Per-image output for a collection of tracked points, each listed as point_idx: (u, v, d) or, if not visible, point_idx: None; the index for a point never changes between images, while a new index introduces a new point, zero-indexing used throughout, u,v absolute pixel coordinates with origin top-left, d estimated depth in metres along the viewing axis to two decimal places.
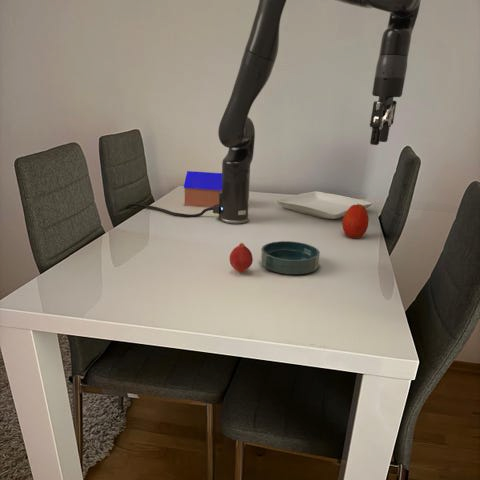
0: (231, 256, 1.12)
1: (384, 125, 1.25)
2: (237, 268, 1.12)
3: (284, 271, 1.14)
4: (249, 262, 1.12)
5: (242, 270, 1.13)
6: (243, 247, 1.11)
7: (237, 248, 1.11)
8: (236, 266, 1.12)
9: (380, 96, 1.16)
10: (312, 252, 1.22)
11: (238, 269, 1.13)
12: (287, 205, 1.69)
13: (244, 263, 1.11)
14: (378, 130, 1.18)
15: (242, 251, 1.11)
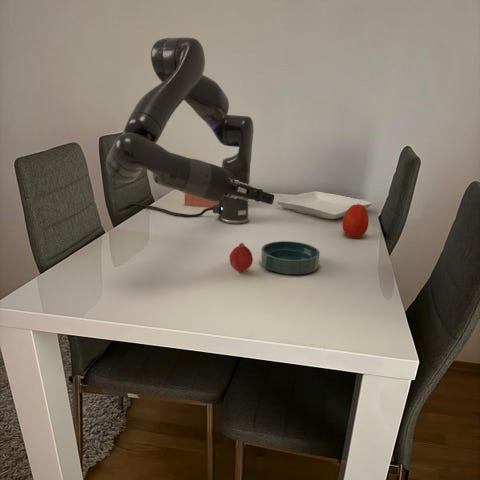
0: (231, 256, 1.12)
1: None
2: (237, 268, 1.12)
3: (284, 271, 1.14)
4: (249, 262, 1.12)
5: (242, 270, 1.13)
6: (243, 247, 1.11)
7: (237, 248, 1.11)
8: (236, 266, 1.12)
9: None
10: (312, 252, 1.22)
11: (238, 269, 1.13)
12: (287, 205, 1.69)
13: (244, 263, 1.11)
14: None
15: (242, 251, 1.11)
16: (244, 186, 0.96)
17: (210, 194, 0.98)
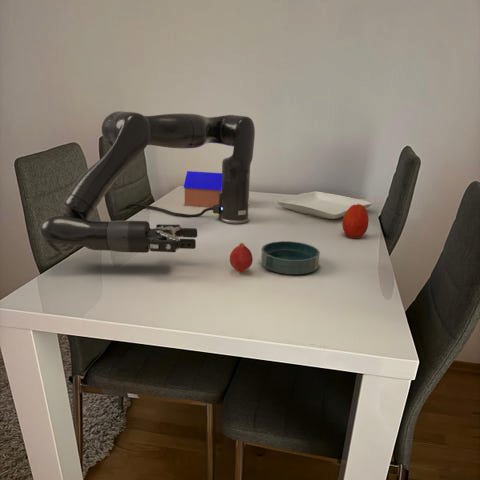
0: (231, 256, 1.12)
1: None
2: (237, 268, 1.12)
3: (284, 271, 1.14)
4: (249, 262, 1.12)
5: (242, 270, 1.13)
6: (243, 247, 1.11)
7: (237, 248, 1.11)
8: (236, 266, 1.12)
9: None
10: (312, 252, 1.22)
11: (238, 269, 1.13)
12: (287, 205, 1.69)
13: (244, 263, 1.11)
14: None
15: (242, 251, 1.11)
16: (154, 242, 1.03)
17: (134, 250, 1.08)
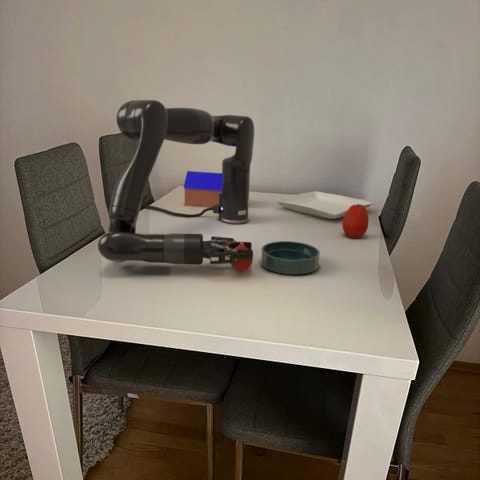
0: None
1: None
2: (237, 268, 1.12)
3: (284, 271, 1.14)
4: (249, 262, 1.12)
5: (242, 270, 1.13)
6: (243, 247, 1.11)
7: (237, 248, 1.11)
8: (236, 266, 1.12)
9: None
10: (312, 252, 1.22)
11: (238, 269, 1.13)
12: (287, 205, 1.69)
13: (244, 263, 1.11)
14: None
15: None
16: (215, 255, 1.06)
17: (189, 262, 1.10)
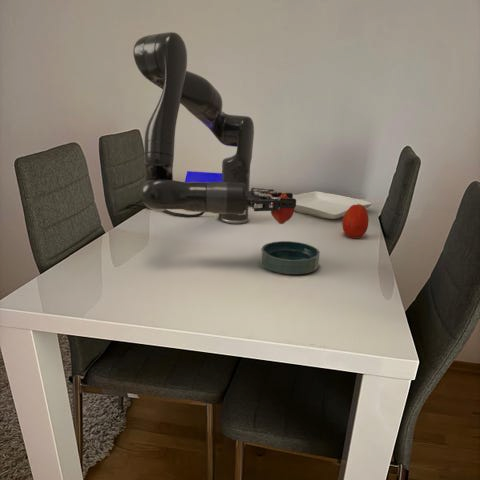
0: None
1: None
2: (279, 218, 1.11)
3: (284, 271, 1.14)
4: (291, 212, 1.11)
5: (283, 221, 1.12)
6: (285, 196, 1.10)
7: (279, 197, 1.10)
8: (278, 216, 1.11)
9: None
10: (312, 252, 1.22)
11: (280, 219, 1.12)
12: None
13: (286, 212, 1.10)
14: None
15: None
16: (259, 202, 1.05)
17: (231, 211, 1.09)
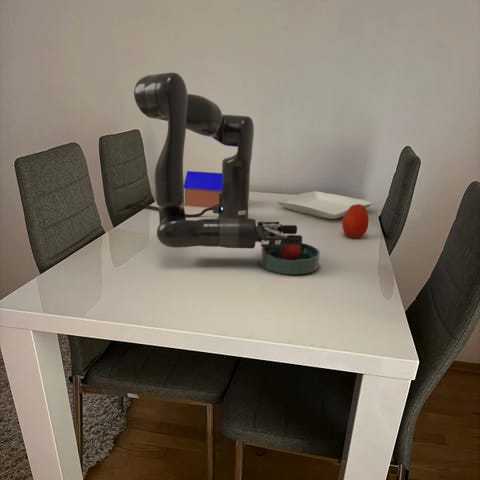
0: None
1: None
2: (287, 259, 1.18)
3: (284, 271, 1.14)
4: (298, 253, 1.17)
5: None
6: None
7: None
8: (286, 257, 1.17)
9: None
10: (312, 252, 1.22)
11: None
12: (287, 205, 1.69)
13: (294, 254, 1.17)
14: None
15: None
16: (266, 239, 1.10)
17: (242, 246, 1.15)
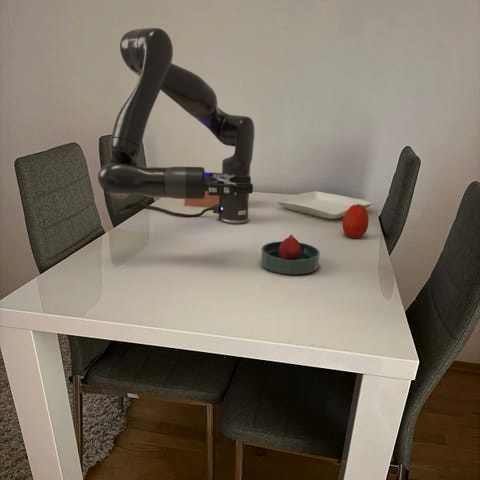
0: (281, 247, 1.17)
1: None
2: (287, 259, 1.18)
3: (284, 271, 1.14)
4: (298, 253, 1.17)
5: None
6: (293, 239, 1.17)
7: (287, 239, 1.17)
8: (286, 257, 1.17)
9: None
10: (312, 252, 1.22)
11: None
12: (287, 205, 1.69)
13: (294, 254, 1.17)
14: None
15: (292, 243, 1.16)
16: (213, 186, 1.04)
17: (190, 196, 1.09)
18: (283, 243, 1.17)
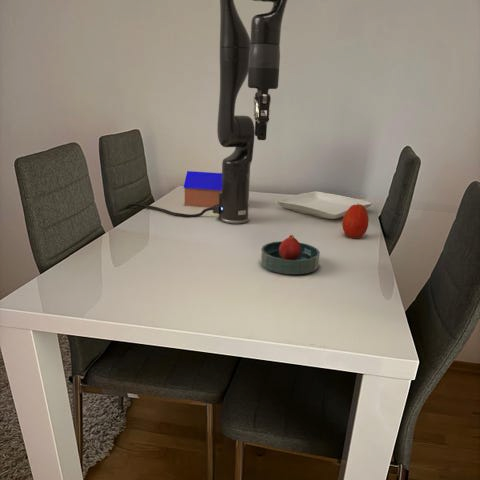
0: (281, 247, 1.17)
1: None
2: (287, 259, 1.18)
3: (284, 271, 1.14)
4: (298, 253, 1.17)
5: None
6: (293, 239, 1.17)
7: (287, 239, 1.17)
8: (286, 257, 1.17)
9: None
10: (312, 252, 1.22)
11: None
12: (287, 205, 1.69)
13: (294, 254, 1.17)
14: None
15: (292, 243, 1.16)
16: (268, 99, 1.07)
17: (254, 73, 1.08)
18: (283, 243, 1.17)
